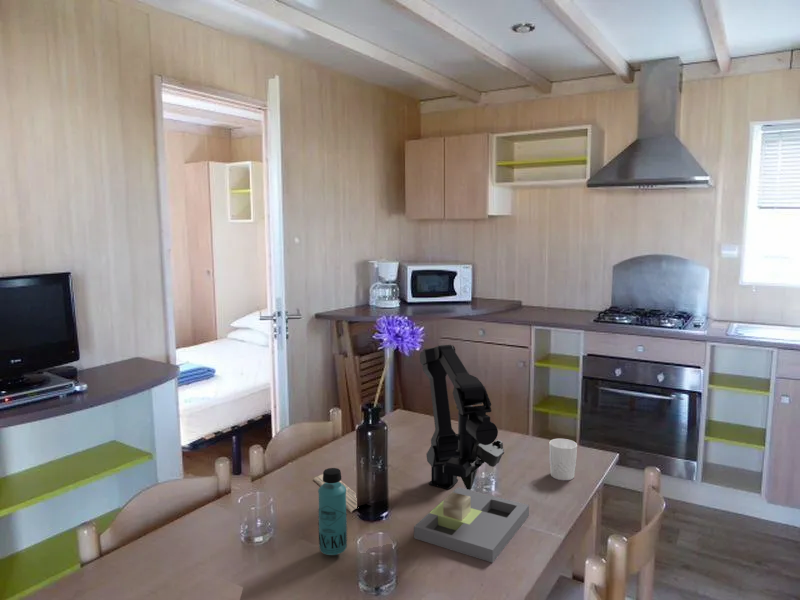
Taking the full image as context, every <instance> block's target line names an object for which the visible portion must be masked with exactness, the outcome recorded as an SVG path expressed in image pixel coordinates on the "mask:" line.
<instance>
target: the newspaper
mask: <svg viewBox="0 0 800 600" xmlns="http://www.w3.org/2000/svg"><path fill="white" fill-rule="evenodd" d="M313 481H314V482H316V483H317V484H318V486H319V487H321V486H322V485H323V484H324V483H326V482H324V481H323V473H321V474H320V475H317V476H315V477H313ZM339 482H340V483H341V484H343V485H344V486H345V488H346V510H348V511H349V512H350V513H351V514H352V513H353V511H355V510H356V509H358V508H357V498H356V492H355V491H354V490H353V489H351V488H350V487H349V486H348V485H347V484H345V483H344V482H343V481H342V480H341V481H339Z"/></svg>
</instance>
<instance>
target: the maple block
mask: <svg viewBox="0 0 800 600" xmlns="http://www.w3.org/2000/svg"><path fill="white" fill-rule="evenodd" d="M442 501H443V516H447V517H450V518H454V519H458V520H461V521H462V520H463V519H464V518H465V517H466V516H467V515H468V514H469V513H470V512H471V497H470V496H466V495H462V494H458V493H454V492H453V491H452V492H451V493H450V494H448V496H446V497H445V498H444V499H443V500H442Z"/></svg>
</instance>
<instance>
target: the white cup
mask: <svg viewBox="0 0 800 600" xmlns="http://www.w3.org/2000/svg"><path fill="white" fill-rule="evenodd" d="M548 444H549V445H548V446H549V467H550V477H552V478H553V479H555V480H557V481H558V480H559V481H570V480H573V479H574V478H575V471H576V470H575V469H576V463H577V462H576V461H577V450H578V443H577V442H575V441H574V440H572V439H567V438H553V439H551V440H550V441H549V442H548Z"/></svg>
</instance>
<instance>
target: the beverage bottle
mask: <svg viewBox="0 0 800 600" xmlns="http://www.w3.org/2000/svg"><path fill="white" fill-rule="evenodd" d="M322 474H323V481H324V482H326V483H324V484H323V485H322V486H319V487H318V490H317V492H318V511H317V512H318V516H317V518H318V522H317V524H318V525H317V526H318V527H317V528H318V548H319V551H320V552H321V553H322V554H324V555H327V556H337V555H341V554H342V553H344V551H346V549H347V545H348V526H347V525H348V522H347V521H348V520H347V509H346V488H345V486H344V485H343V484H341V483H340V482H339V481H342V473H341V469H339V468H337V467H329V468H326V469H324V470H323V473H322Z"/></svg>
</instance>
